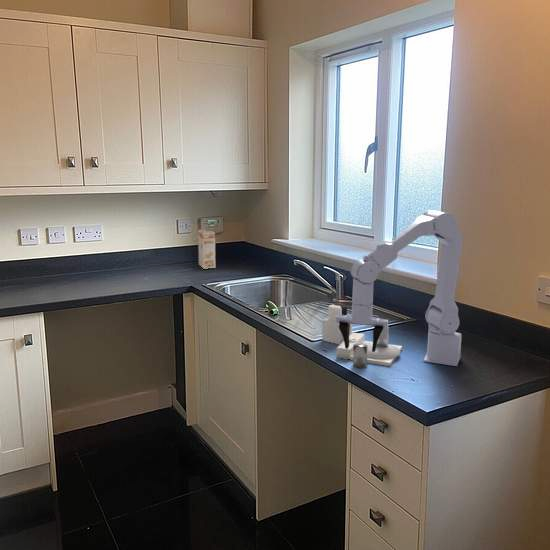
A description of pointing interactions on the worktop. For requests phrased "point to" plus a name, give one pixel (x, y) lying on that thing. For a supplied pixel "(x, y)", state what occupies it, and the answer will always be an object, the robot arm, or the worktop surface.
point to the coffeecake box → (206, 248)
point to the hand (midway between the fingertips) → (360, 349)
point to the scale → (369, 351)
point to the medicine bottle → (334, 324)
